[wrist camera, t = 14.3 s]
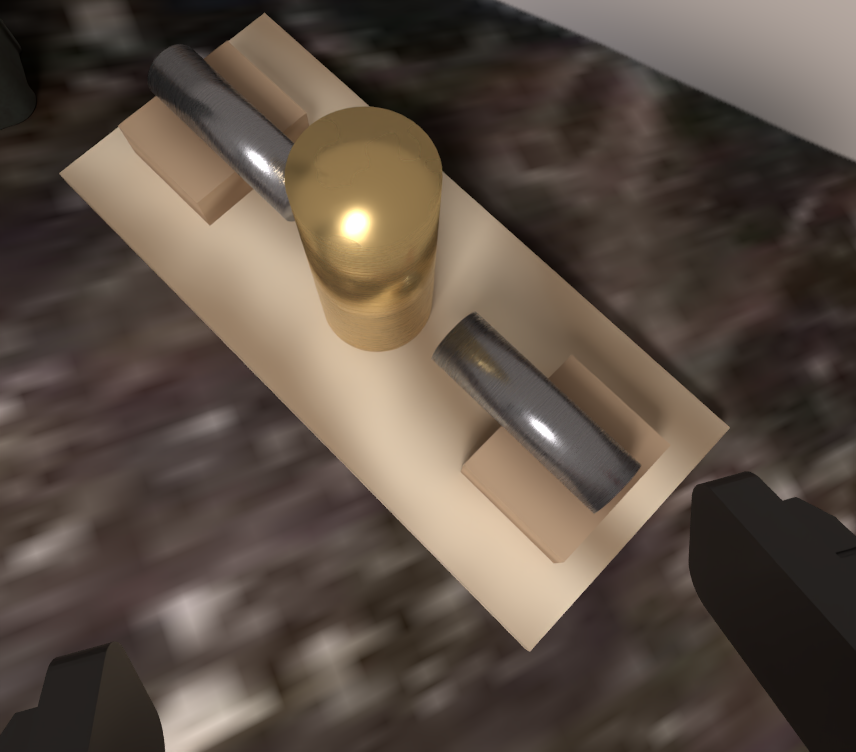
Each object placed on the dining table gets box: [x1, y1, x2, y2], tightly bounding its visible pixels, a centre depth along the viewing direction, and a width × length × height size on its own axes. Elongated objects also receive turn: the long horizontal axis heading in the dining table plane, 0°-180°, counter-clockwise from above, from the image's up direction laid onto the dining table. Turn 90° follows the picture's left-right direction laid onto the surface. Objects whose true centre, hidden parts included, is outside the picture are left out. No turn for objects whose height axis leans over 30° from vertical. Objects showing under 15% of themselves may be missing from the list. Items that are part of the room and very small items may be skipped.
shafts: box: [148, 44, 641, 513], centre depth 28 cm, size 2×24×2 cm, turn 46°
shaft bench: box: [59, 13, 730, 652], centre depth 31 cm, size 12×28×3 cm, turn 45°
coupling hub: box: [285, 106, 443, 352], centre depth 27 cm, size 5×5×10 cm
